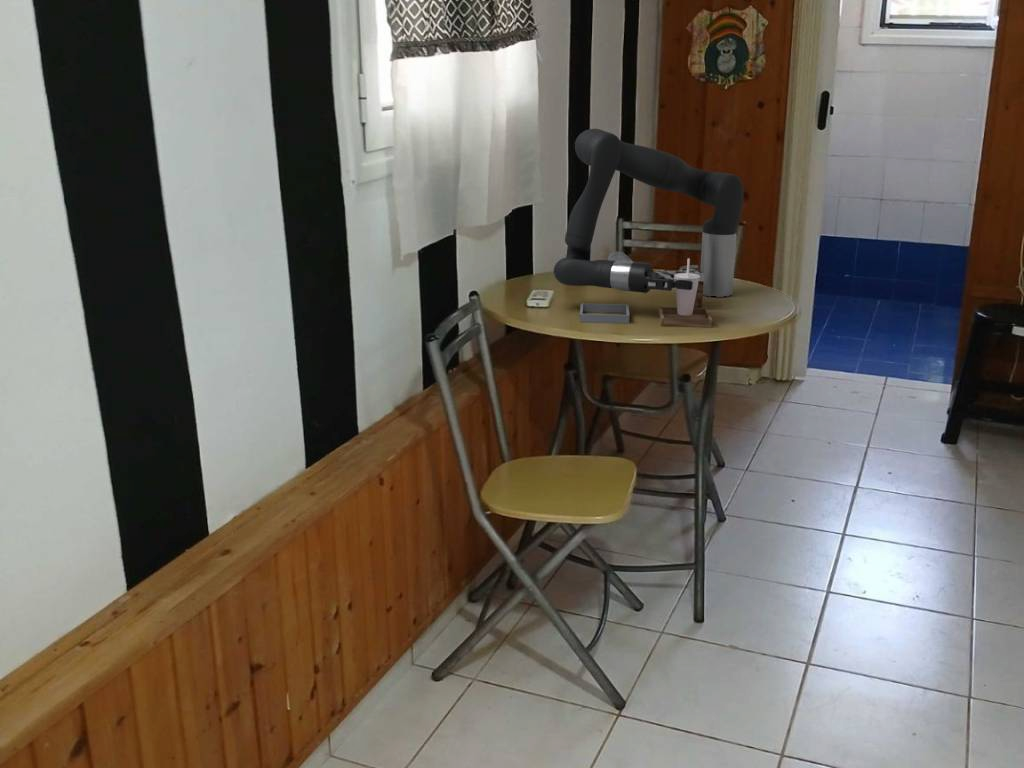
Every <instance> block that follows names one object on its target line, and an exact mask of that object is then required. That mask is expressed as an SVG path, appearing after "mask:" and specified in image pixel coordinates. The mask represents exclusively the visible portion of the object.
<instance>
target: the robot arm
mask: <svg viewBox="0 0 1024 768" xmlns="http://www.w3.org/2000/svg"><path fill="white" fill-rule="evenodd" d="M574 150H575V154H576V157H577V158H578V159H579V160H580V161H581V162H582V163H584V164H585V165H586V166H587V165H588V166H590V169H589V176H588V179H587V183H586V186H585V188H584V189H583V192H582V193H581V195H580V197H579V198H578V200H577V201H576V203H575V204H574V205H573V208H572V210H571V213H570V215H569V217H568V218H569V219H568V223H567V227H566V231H565V232H566V233H565V236H564V243H565V245H566V246H567V248H566V255H565V257H562V258H561V259H559V260H558V261H557V262H556V263H555V265H554V267H553V275H554V276H553V277H555V279H556V280H557V282H558V283H560V284H562V285H566V286H574V287H575V286H576V287H579V286H581V287H588V286H590V287H591V286H592V287H599V288H606V289H607V288H608V289H614V290H615V289H616V290H618V291H623V292H624V291H626V292H632V293H633V292H634V293H635V292H636V293H643V294H647V293H649V292H650V290H658V291H659V290H660V291H668V292H670V291H672V290H673V291H674V290H675V291H676V289H684V290H691V289H692V288H693V282H692V281H689V280H679V279H678V280H677V279H674V275H675V274H679V273H685V272H681V271H679V270H671V269H666V268H665V269H659V270H658V271H654V267H653V265H652V263H649V262H642V261H633V260H632V261H633V262H632V261H611V260H608V259H594V260H591V253H592V251H591V249H592V243H593V239H594V236H595V231H596V226H597V221H598V219H599V214H600V211H601V209H602V205H603V202H604V200H605V198H606V195H607V193H608V190H609V187H610V185H611V183H612V180H613V177H614V175H615V174H616V173H615V172H616V171H618V172H620V173H622V174H624V175H626V176H628V177H630V178H632V179H634V180H636V181H638V182H641V183H643V184H645V185H648V186H650V187H654V188H657V189H661V190H663V191H664V190H665V191H668V192H674V193H680V194H683V195H687V196H689V197H691V198H693V199H696V200H698V201H700V202H702V203H703V204H706V205H708V206H710V207H714V210H713V215H712V217H711V218H709V219H707V220H704V222H703V223H702V237H701V250H700V251H701V257H700V268H699V269H700V270H699V271H701V273H704V284H703V296H705V297H711V296H716V297H715V298H718V297H719V298H723V297H724V296H726V297H730V295H731V296H733V289H734V277H735V264H736V263H735V260H736V248H737V247H736V246H737V231H738V227H739V225H740V222H741V217H742V211H743V203H744V184H743V181H742V179H741V177H739V176H738V175H736V174H732V173H724V172H718V171H708V170H703V169H700V168H695V167H692V166H691V165H689V164H688V163H687V162H685V161H684V160H683V159H681V158H680V157H678V156H676V155H673V154H670V153H669V152H665V151H663V150H661V149H660V150H658V149H656V148H652V147H647V146H643V145H639V144H633V143H628V142H625V141H622V140H620V138H619V136H617V135H615V134H614V133H612V132H609V131H607V130H606V131H605V130H603V129H600V128H589V129H587V130H584V131H582V132H581V133H580V134H579V135H578V136H577V137H576V140H575V141H574ZM699 284H700V281H699V282H698V285H699Z"/></svg>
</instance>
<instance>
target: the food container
mask: <svg viewBox="0 0 1024 768" xmlns="http://www.w3.org/2000/svg"><path fill="white" fill-rule="evenodd" d="M678 271H681V272H685V273H687V265H684V266H680V267H679V269H678ZM689 273H691V274H697V275H699V276H700V284H699V285H698V287H697V292H696V297H695V303H694V308H703V296H704V295H703V284H704V273H701V271H700V270H699V264H698V265H697V264H691V265H689Z"/></svg>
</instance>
